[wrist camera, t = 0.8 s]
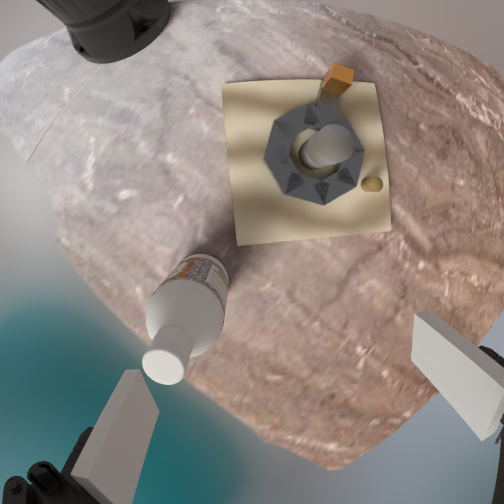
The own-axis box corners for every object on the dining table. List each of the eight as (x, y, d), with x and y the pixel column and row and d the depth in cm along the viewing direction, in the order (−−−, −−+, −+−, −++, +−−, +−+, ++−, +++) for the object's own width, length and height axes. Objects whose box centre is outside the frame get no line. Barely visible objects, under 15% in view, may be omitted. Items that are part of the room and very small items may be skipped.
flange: (345, 212, 34) (363, 216, 28) (255, 187, 33) (258, 185, 27) (370, 98, 31) (389, 85, 26) (287, 69, 30) (294, 49, 25)
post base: (221, 87, 32) (215, 51, 22) (370, 86, 32) (406, 59, 22) (237, 244, 36) (236, 263, 26) (387, 229, 36) (429, 241, 26)
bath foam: (200, 241, 35) (154, 296, 16) (240, 280, 37) (240, 371, 17) (164, 278, 36) (96, 360, 17) (202, 315, 37) (172, 421, 18)
